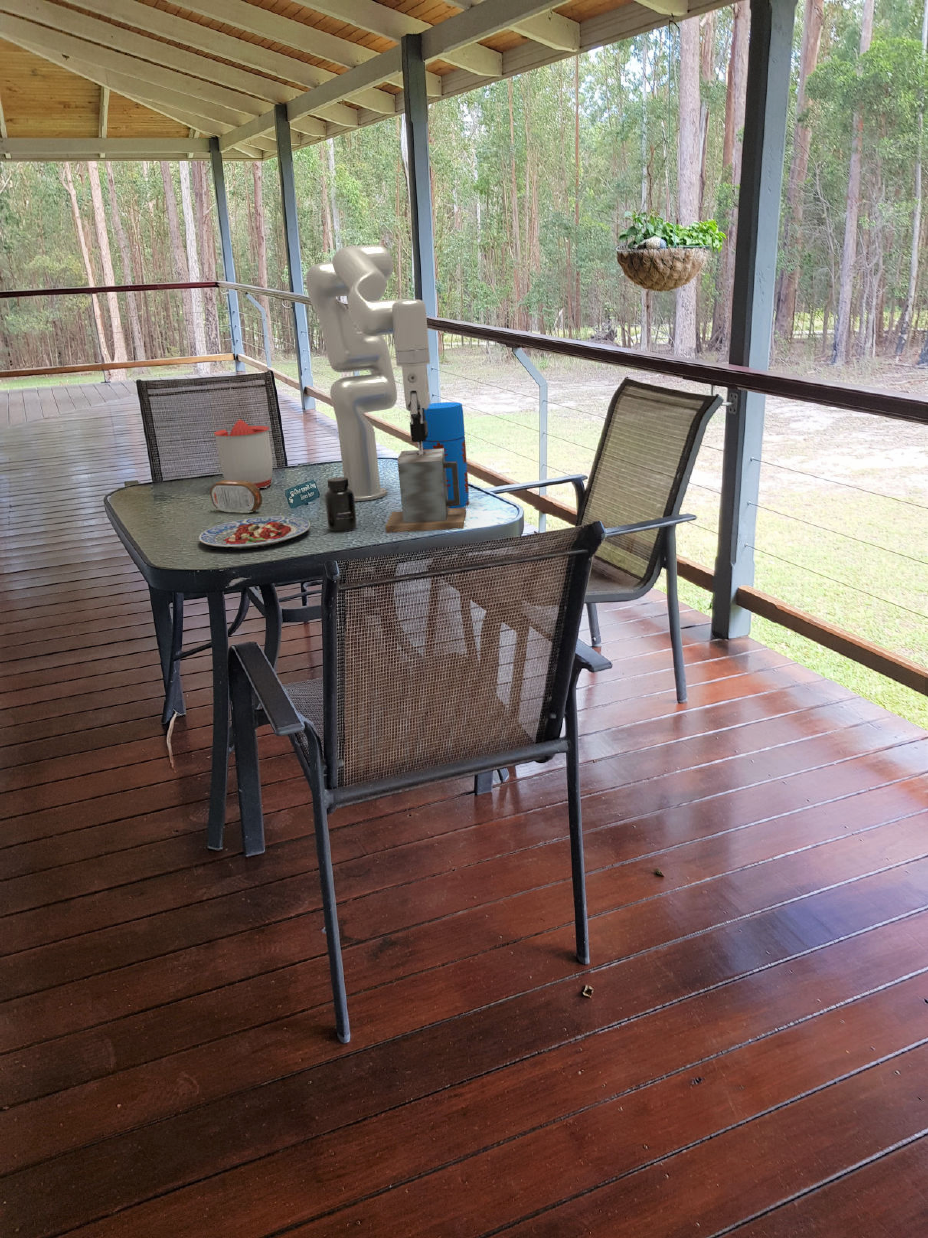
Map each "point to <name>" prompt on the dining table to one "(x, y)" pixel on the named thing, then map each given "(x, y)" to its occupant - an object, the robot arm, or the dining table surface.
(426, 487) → the stand
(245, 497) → the tin
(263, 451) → the citrus juicer
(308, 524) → the ceramic plate
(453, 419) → the thermos
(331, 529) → the supplement bottle
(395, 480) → the dining table surface
